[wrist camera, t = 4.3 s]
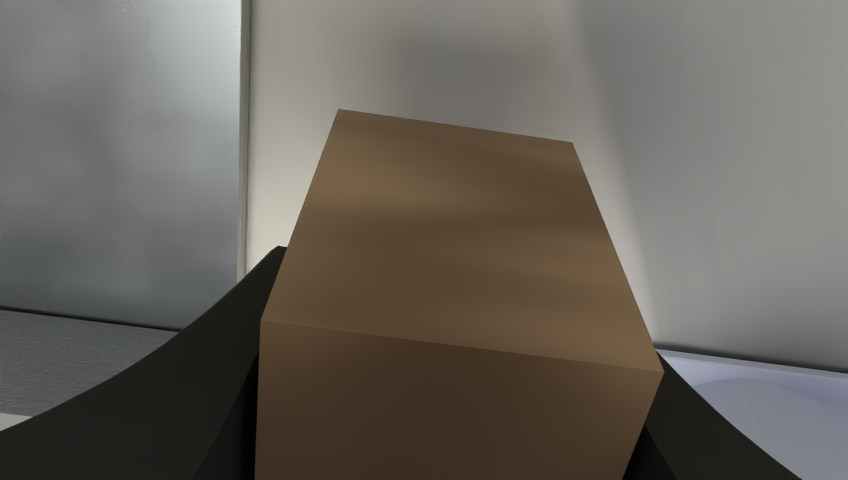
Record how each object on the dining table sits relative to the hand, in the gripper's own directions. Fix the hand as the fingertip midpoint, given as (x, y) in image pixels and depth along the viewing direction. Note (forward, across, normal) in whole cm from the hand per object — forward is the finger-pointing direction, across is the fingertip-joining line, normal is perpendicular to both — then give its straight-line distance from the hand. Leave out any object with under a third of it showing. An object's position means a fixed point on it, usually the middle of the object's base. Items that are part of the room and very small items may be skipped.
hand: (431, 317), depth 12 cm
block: (+2, 0, 0) cm, 2 cm away
